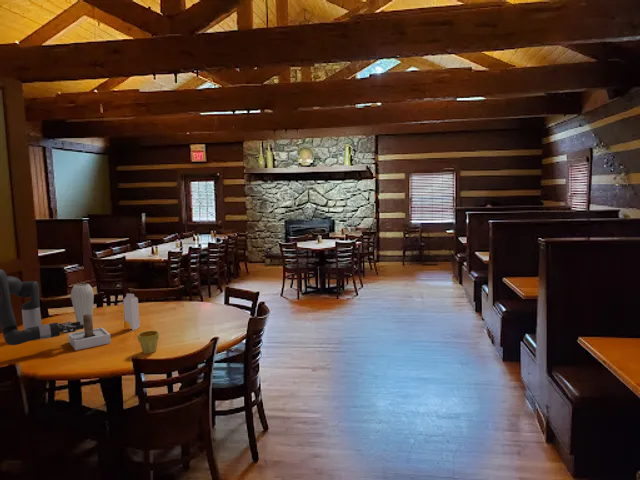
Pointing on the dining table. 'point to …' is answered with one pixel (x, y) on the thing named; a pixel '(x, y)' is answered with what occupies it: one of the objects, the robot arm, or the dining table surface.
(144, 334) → the plant pot
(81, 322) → the vase
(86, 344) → the tray
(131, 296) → the milk
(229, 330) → the dining table surface
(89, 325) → the peg
